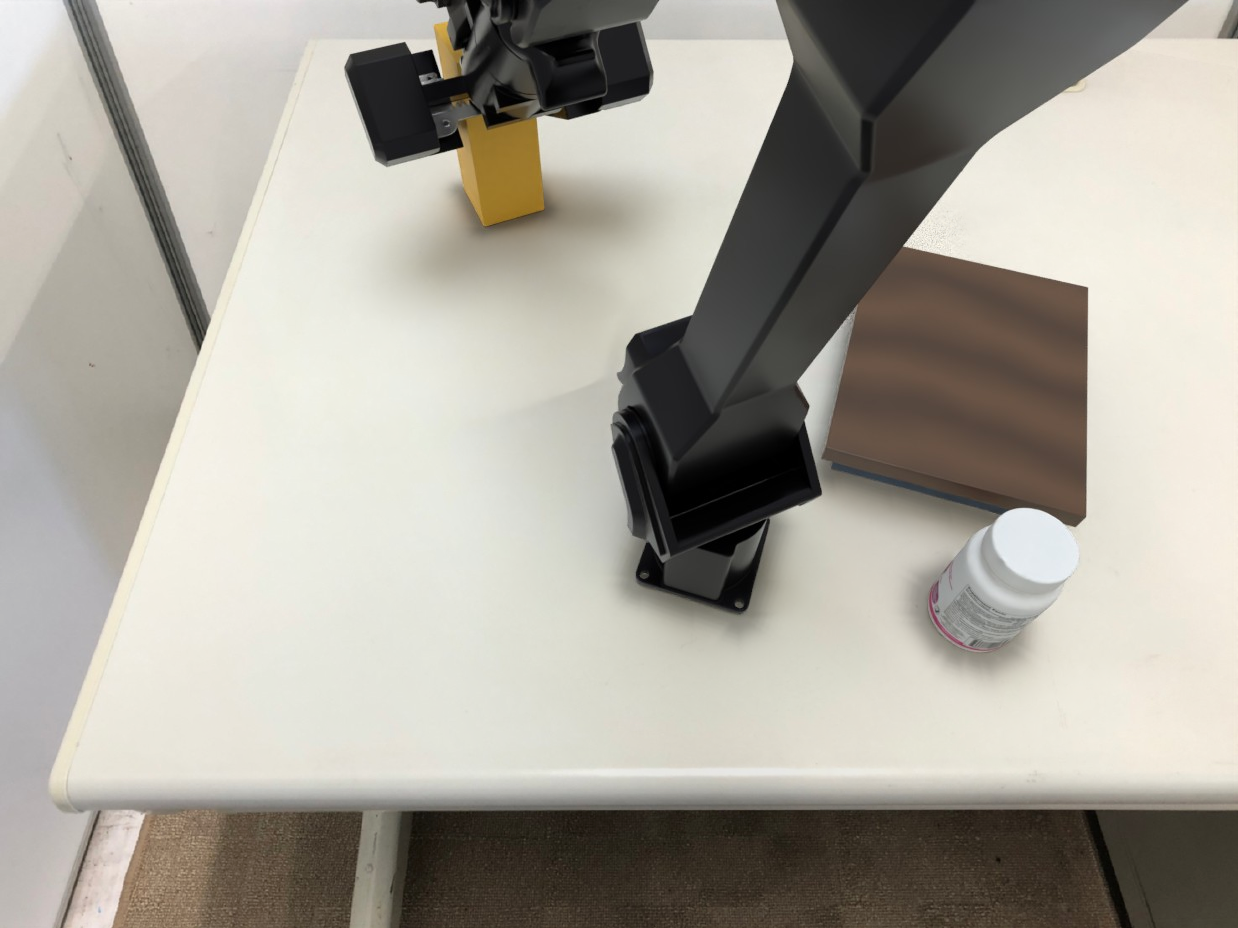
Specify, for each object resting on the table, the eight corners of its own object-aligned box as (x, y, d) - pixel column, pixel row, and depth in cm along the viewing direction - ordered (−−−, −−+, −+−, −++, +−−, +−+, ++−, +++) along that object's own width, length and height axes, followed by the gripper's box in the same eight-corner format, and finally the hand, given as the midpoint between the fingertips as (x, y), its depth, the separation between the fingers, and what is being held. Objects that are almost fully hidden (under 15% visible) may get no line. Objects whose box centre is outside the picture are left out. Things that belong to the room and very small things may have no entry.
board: (1045, 556, 46) (1086, 517, 42) (807, 490, 48) (825, 447, 44) (1054, 336, 55) (1088, 286, 51) (854, 289, 57) (872, 239, 54)
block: (544, 209, 62) (530, 46, 51) (484, 227, 61) (456, 63, 50) (522, 172, 64) (504, 8, 53) (463, 188, 63) (433, 24, 52)
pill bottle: (948, 558, 46) (1010, 482, 39) (1026, 607, 44) (1106, 537, 37) (909, 618, 44) (967, 549, 37) (989, 672, 42) (1066, 611, 35)
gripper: (641, -155, 43) (572, -32, 58) (298, -94, 39) (317, 23, 54) (694, 60, 46) (615, 125, 61) (379, 139, 42) (377, 189, 56)
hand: (487, 113), depth 58 cm, fingers open, 6 cm apart
